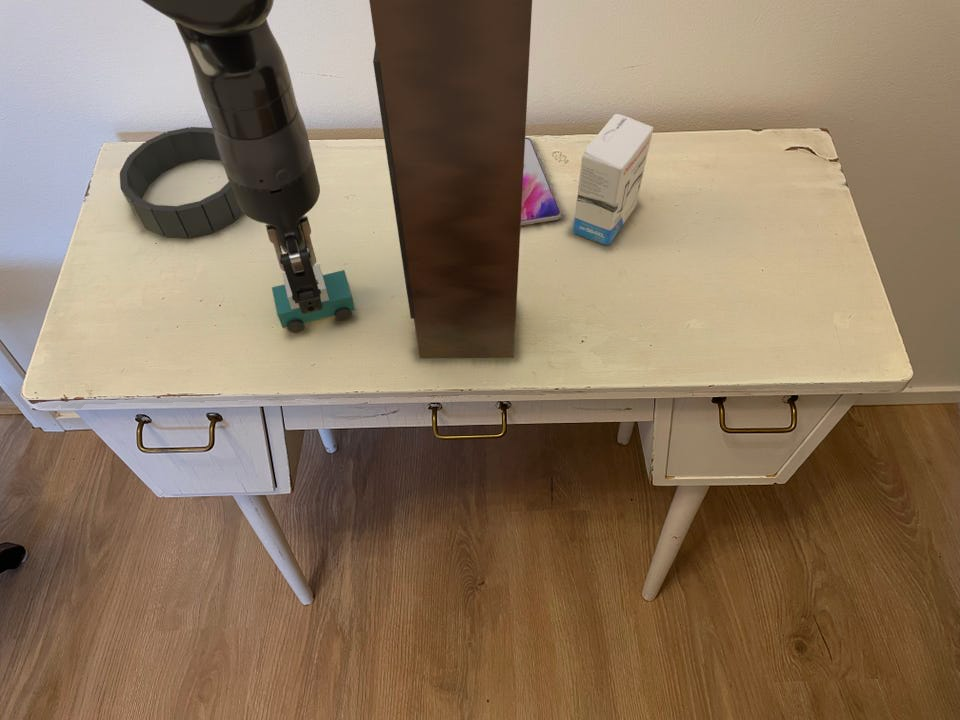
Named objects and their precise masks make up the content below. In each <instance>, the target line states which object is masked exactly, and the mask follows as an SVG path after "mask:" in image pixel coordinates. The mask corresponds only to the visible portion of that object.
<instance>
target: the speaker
mask: <svg viewBox="0 0 960 720" xmlns="http://www.w3.org/2000/svg"><path fill="white" fill-rule="evenodd" d="M368 1H369V9H370V15H371V23H372V31H373V36H374V37H373V38H374V44H375V46H374V52H373V59H372V65H373V71H374V77H375V83H376V91H377V98H378V104H379V112H380V118H381V124H382V131H383V132H382V134H383V138H384V144H385V145H384V146H385V152H386V159H387V166H388V172H389V173H388V174H389V179H390V186H391V194H392V201H393V207H394V214H395V220H396V221H395V222H396V228H397V235H398V241H399V242H398V243H399V250H400V256H401V261H402V269H403V276H404V282H405V289H406V295H407V296H406V297H407V304H408V309H409V316H410V319H411V320H413V321H414V322H413V323H414V330H415V335H416V343H417V350H418V357H419V359H492V358H493V359H499V358H500V359H505V358H506V359H509V358H514V357H515V342H516V341H515V340H516V323H517V304H518V286H519V266H520V265H519V263H520V245H521V228H522V227H521V226H522V225H521V209H522V189H523V170H524V151H525V137H526V131H527V111H528V110H527V108H528V107H527V106H528V92H529V91H528V90H529V74H530V73H529V71H530V53H531V35H532V34H531V33H532V32H531V31H532V16H533V15H532V13H533V0H368Z"/></svg>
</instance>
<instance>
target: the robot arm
mask: <svg viewBox="0 0 960 720" xmlns="http://www.w3.org/2000/svg"><path fill="white" fill-rule="evenodd" d="M141 1H142V2H143V3H144V4H146V5H148V6H149V7H150V8H152V9H153V10H155V11H157V12H159V13H161V14H162V15H164V16H165V17H167V18H168V19H171V20H172V21H174V24H175V26H176V28H177V30H178V33H179V34H180V37H181V39H182V42H183V43H184V46H185V49H186V51H187V53H188V57H189V60H190V63H191V66H192V70H193V74H194V78H195V81H196V82H195V83H196V85H197V88H198V91H199V95H200V97H201V100H202V103H203V106H204V108H205V110H206V113H207V117H208V119H209V122H210V125H211V128H212V129H213V133H214V139H215V143H216V147H217V150H218V153H219V155H220V158H221V160H220V161H221V163H222V166H223V169H224V171H225V175H226V177H227V180H228V182H230V185H231V188H232V190H233V193H234V196H235V198H236V201H237V204H238V206H239V208H240V210H241V211H242V212H243V214H244V215H245V216H246V217H247V218H249V219H250V220H253V221H255V222H257V223H261V224H265V228H266V233H267V237H268V240H269V242H270V243H271V244H273V246H274V249H275V250H274V252H275V254H276V258H277V261H278V265H279V268H280V270H281V271H282V272H283V273H284V272H285V274H286V277H287V280H288V283H289V286H290V289H291V292H292V299H293V301H295V304H297V303H298V304H299V307H300V310H301V313H303V314H308V313H312V312H316V311H320V310H322V308H323V306H322V302H321V297H320V294H321V290H320V289H318V284H319V282H318V279H317V280H316V277H315V273H314V270H313V265H316V263H317V257H316V252H315V250H314V249H315V248H314V246H313V242H312V239H311V235H312V228H311V224H310V221H309V216H308V215H306V214H307V213H309V212H310V211H311V210H312V209H313V208H314V207H315V206H316V204H317V202H318V200H319V197H320V194H321V186H320V182H319V178H318V172H317V169H316V164H315V160H314V155H313V153H312V152H313V151H312V148H311V144H310V139H309V135H308V131H307V128H306V124H305V122H304V121H305V120H304V119H303V116H302V114H301V112H300V109H299V107H298V103H297V99H296V95H295V90H294V87H293V82H292V79H291V74H290V71H289V70H290V69H289V67H288V64H287V61H286V58H285V55H284V52H283V51H282V49H281V46H280V44H279V43H278V41H277V39H276V36H275V35H274V33H273V31H272V30H271V28H270V24H269V22H268V17H269V15H270V13H271V11H272V9H273V6H274V2H275V0H141ZM283 252H284V253H283Z"/></svg>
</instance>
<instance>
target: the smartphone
mask: <svg viewBox="0 0 960 720" xmlns="http://www.w3.org/2000/svg"><path fill="white" fill-rule="evenodd" d="M561 217H562V212H561V208H560V206H559V204H558V202H557V200H556V197H555V194H554V192H553V189H552V186H551V185H550V182H549V179H548V177H547V174H546V172H545V169H544V167H543V164H542V162H541V160H540V157H539V155H538V152H537V150H536V147H535V145H534V143H533V140H532V139H531V138H530V137H526V136H525V151H524V170H523V189H522V209H521V226H526V225H533V224H539V223H545V222H551V221H556V220H559V219H560V218H561Z"/></svg>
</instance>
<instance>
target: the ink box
mask: <svg viewBox="0 0 960 720" xmlns="http://www.w3.org/2000/svg"><path fill="white" fill-rule="evenodd" d="M653 133H654V126H652V125H649V124H647V123H644V122H641V121H639V120H636V119H633V118H631V117H629V116H626V115H623V114H621V113H615V114H614V115H612V117H611V118H610V119H609V120H608V122H606V124H605V125H604V127H603V128H601V130H600V131H599V132H598V134H597V135H596V136H595V137H594V138H593V139H592V141H591V142H590V143H589V144H588V145H587V146H586V147H585V148H584V153H583V154H582V156H581V163H580V171H579V179H578V185H577V186H578V187H577V196H576V202H575V205H576V206H575V212H574V220H573V228H572V233H573V234H575V235H578V236H580V237H583V238H586V239H588V240H590V241H592V242H596V243H598V244H601V245H604V246H606V247H607V246H610V244H611V243H612V242H613V240H614V239H615V237H616V236H617V235H618V233H619V232H620V230H621V228H622V227H623V226H624V224H625V222H626V221H627V220H628V219H629V217H630V216H631V214H632V212H633V211H634V210H635V208H636V207H637V204H638V199H639V194H640V190H641V186H642V181H643V177H644V171H645V167H646V163H647V160H648V159H647V158H648V154H649V151H650V145H651V141H652V136H653Z"/></svg>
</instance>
